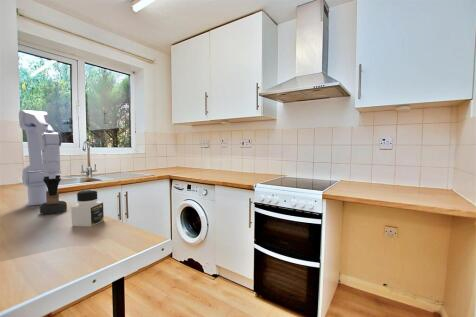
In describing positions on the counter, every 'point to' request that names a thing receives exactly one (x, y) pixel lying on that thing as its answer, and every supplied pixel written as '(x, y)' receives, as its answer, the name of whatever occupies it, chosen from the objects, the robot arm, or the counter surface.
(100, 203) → the medicine bottle
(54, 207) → the smart speaker
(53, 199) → the walnut block
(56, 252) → the counter surface
